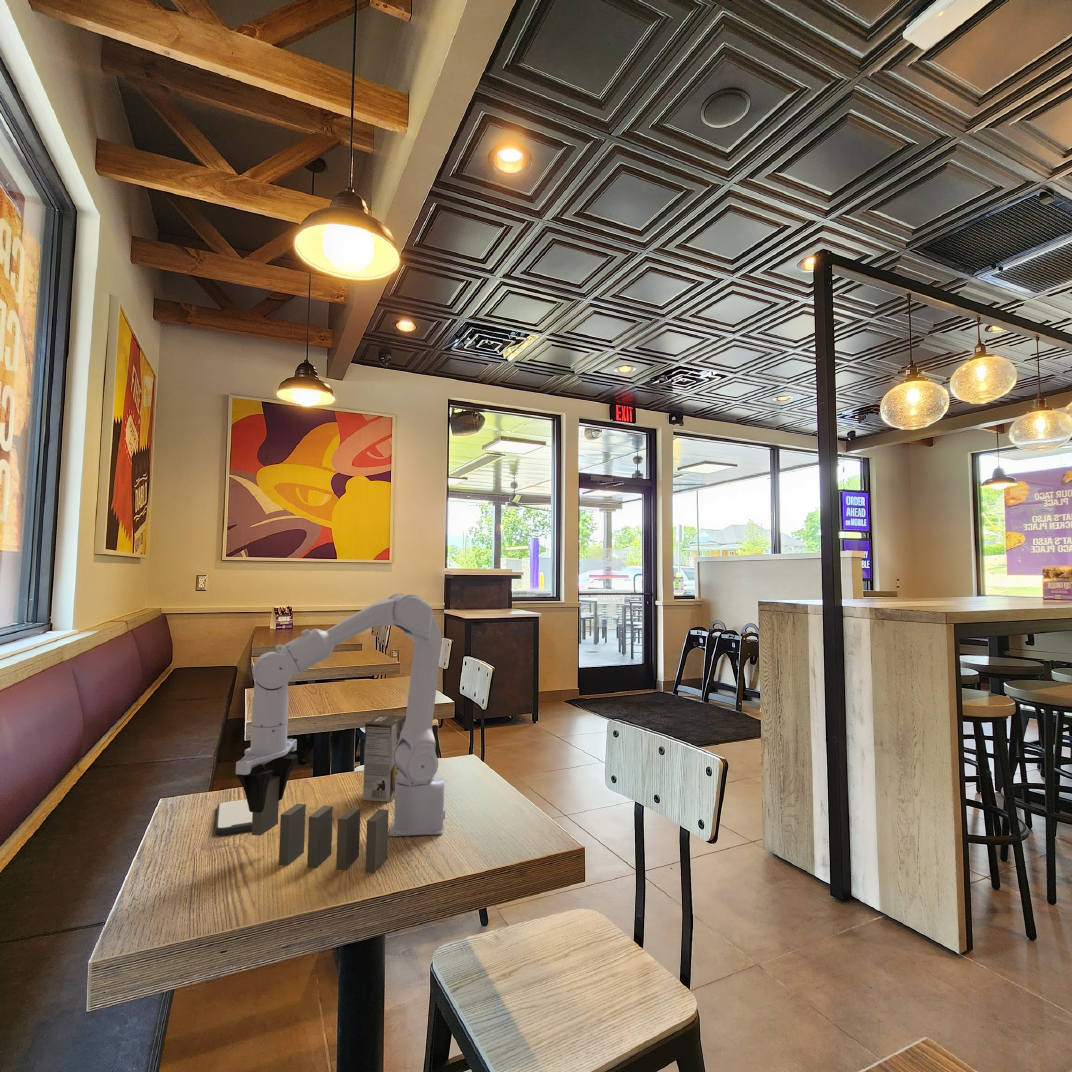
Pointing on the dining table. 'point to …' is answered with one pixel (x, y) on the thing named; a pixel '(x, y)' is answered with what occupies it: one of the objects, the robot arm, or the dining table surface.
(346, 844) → the domino
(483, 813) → the dining table surface
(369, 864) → the domino
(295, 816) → the domino
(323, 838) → the domino
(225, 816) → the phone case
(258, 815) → the end domino
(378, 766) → the coffee box
